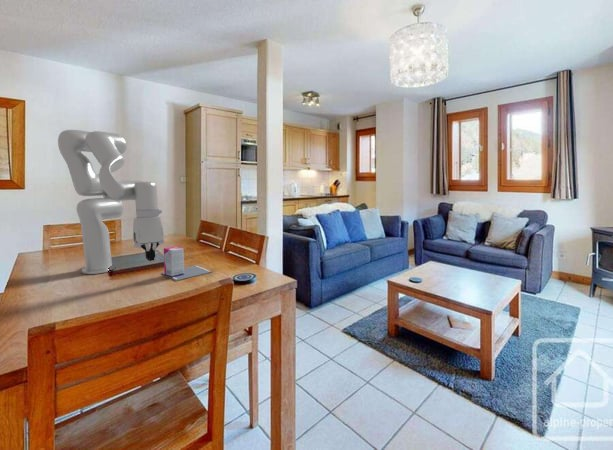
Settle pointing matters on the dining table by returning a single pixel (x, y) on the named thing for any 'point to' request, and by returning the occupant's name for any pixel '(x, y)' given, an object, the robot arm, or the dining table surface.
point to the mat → (191, 272)
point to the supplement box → (173, 261)
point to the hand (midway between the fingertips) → (150, 259)
